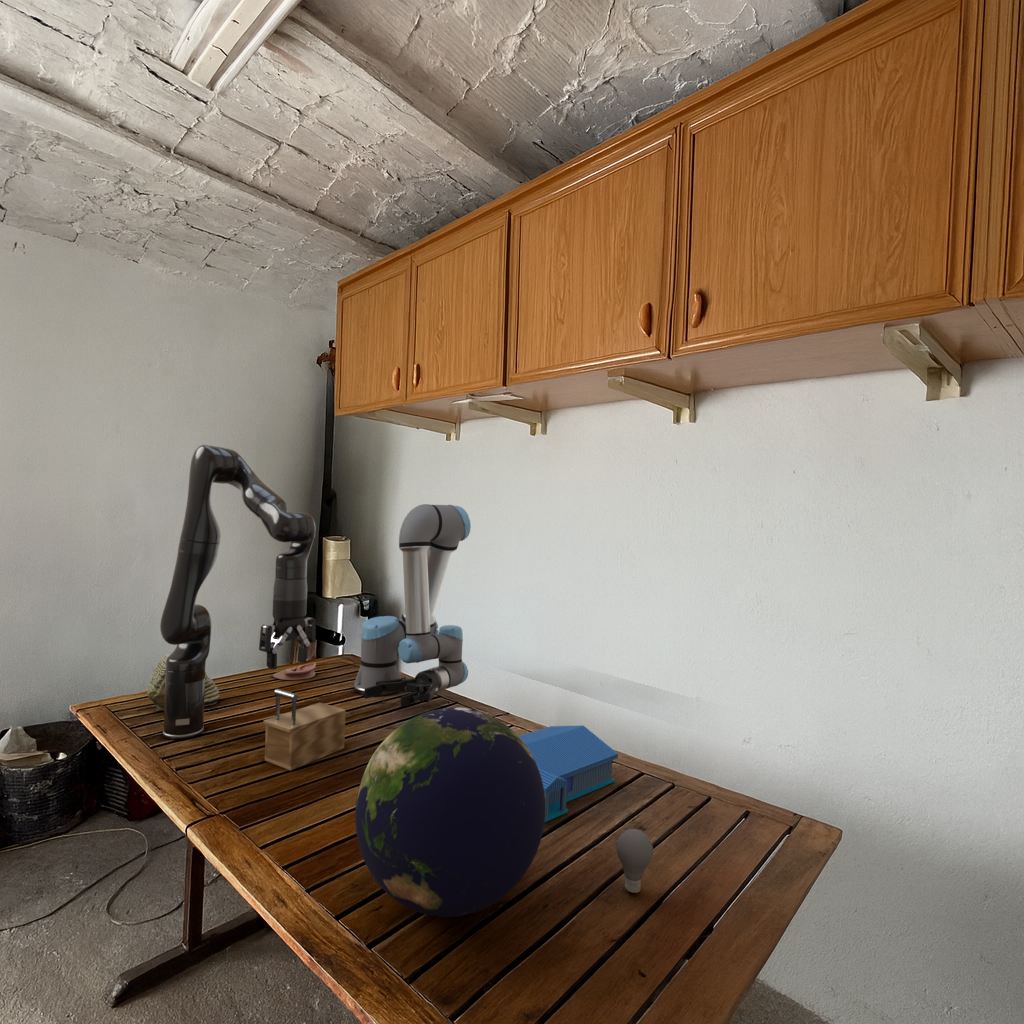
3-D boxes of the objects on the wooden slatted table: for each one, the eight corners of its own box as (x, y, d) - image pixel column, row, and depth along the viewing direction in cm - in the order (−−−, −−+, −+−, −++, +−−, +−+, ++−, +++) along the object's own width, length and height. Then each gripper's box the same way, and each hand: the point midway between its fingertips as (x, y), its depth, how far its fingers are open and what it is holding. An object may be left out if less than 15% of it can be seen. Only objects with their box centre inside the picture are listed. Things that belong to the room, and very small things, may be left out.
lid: (289, 733, 145) (290, 698, 145) (263, 724, 150) (264, 690, 150) (345, 713, 160) (346, 681, 159) (320, 705, 164) (321, 674, 164)
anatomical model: (267, 666, 215) (286, 658, 227) (267, 678, 215) (286, 669, 227) (303, 670, 213) (320, 662, 224) (303, 682, 213) (320, 673, 224)
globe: (309, 928, 93) (317, 725, 93) (415, 832, 121) (421, 676, 120) (495, 996, 82) (506, 766, 81) (565, 873, 110) (572, 701, 109)
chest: (290, 770, 146) (292, 732, 145) (264, 760, 150) (265, 723, 150) (344, 748, 160) (345, 713, 160) (318, 739, 165) (320, 705, 164)
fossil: (144, 707, 182) (145, 655, 182) (212, 696, 194) (213, 647, 194) (151, 716, 175) (153, 662, 175) (221, 703, 188) (223, 653, 188)
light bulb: (610, 879, 108) (613, 822, 108) (644, 879, 109) (647, 822, 109) (619, 902, 102) (622, 840, 102) (655, 901, 103) (658, 840, 103)
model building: (497, 843, 118) (499, 790, 118) (422, 794, 136) (424, 748, 136) (626, 786, 145) (628, 743, 144) (549, 751, 163) (551, 713, 163)
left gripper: (275, 602, 141) (272, 674, 141) (324, 595, 153) (322, 662, 153) (253, 598, 145) (251, 668, 145) (303, 591, 157) (301, 657, 157)
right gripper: (463, 700, 189) (417, 719, 171) (400, 687, 202) (350, 703, 184) (464, 675, 189) (418, 691, 171) (400, 663, 202) (351, 677, 184)
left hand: (287, 665), depth 149 cm, fingers open, 8 cm apart
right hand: (383, 697), depth 177 cm, fingers open, 13 cm apart
